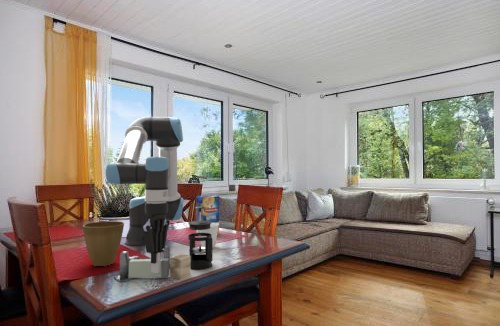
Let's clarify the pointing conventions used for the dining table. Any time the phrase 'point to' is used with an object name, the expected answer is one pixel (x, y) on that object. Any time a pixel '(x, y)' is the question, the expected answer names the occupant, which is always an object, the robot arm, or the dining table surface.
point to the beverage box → (208, 209)
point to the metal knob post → (124, 267)
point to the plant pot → (103, 241)
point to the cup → (213, 231)
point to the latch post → (167, 253)
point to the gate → (147, 268)
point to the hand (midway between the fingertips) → (155, 272)
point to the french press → (200, 259)
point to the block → (180, 266)
